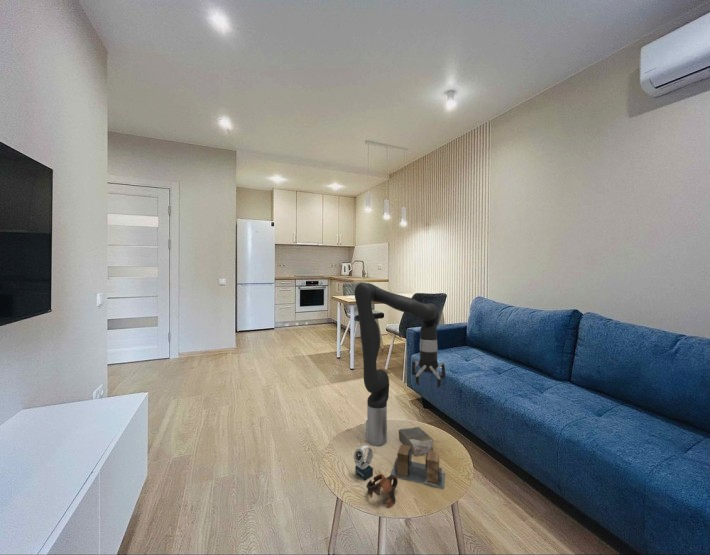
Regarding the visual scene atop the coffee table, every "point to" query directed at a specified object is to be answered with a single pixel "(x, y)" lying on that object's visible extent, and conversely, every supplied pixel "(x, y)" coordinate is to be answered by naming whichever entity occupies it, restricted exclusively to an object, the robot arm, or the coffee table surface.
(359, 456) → the watch
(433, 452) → the brown wooden block
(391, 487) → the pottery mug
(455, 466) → the coffee table surface
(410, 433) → the geological specimen
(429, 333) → the robot arm
